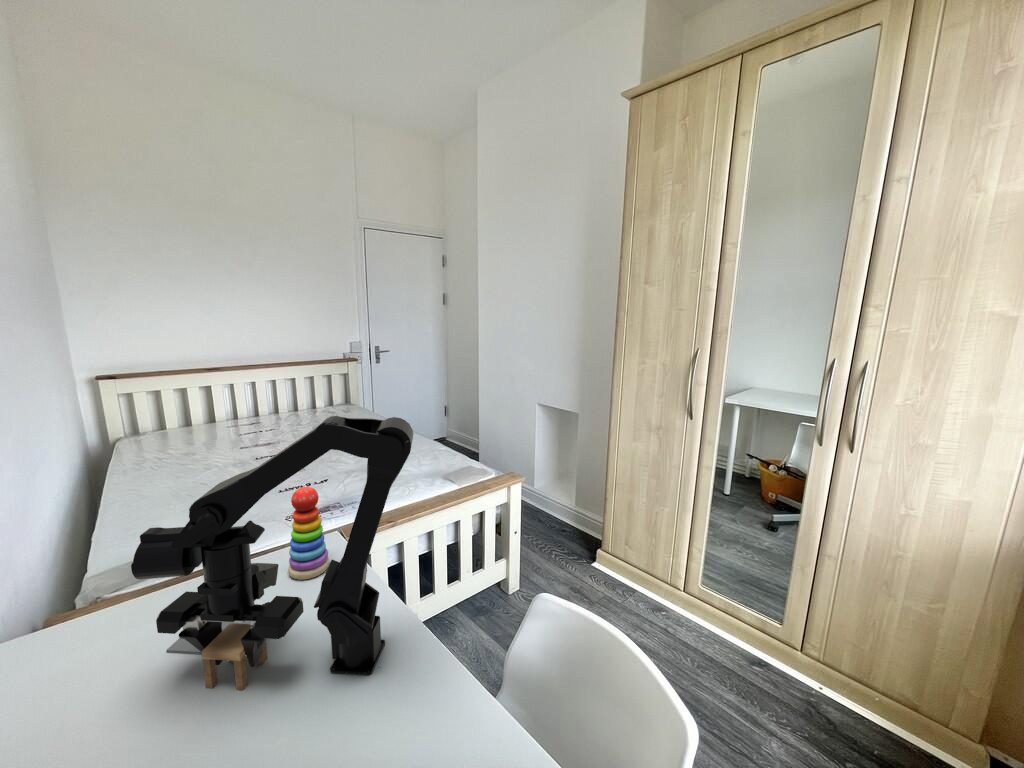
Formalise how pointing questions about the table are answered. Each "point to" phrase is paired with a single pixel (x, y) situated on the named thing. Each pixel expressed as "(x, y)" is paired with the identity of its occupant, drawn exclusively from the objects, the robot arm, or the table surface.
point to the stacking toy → (307, 537)
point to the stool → (229, 655)
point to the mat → (188, 648)
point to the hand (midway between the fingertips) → (237, 664)
